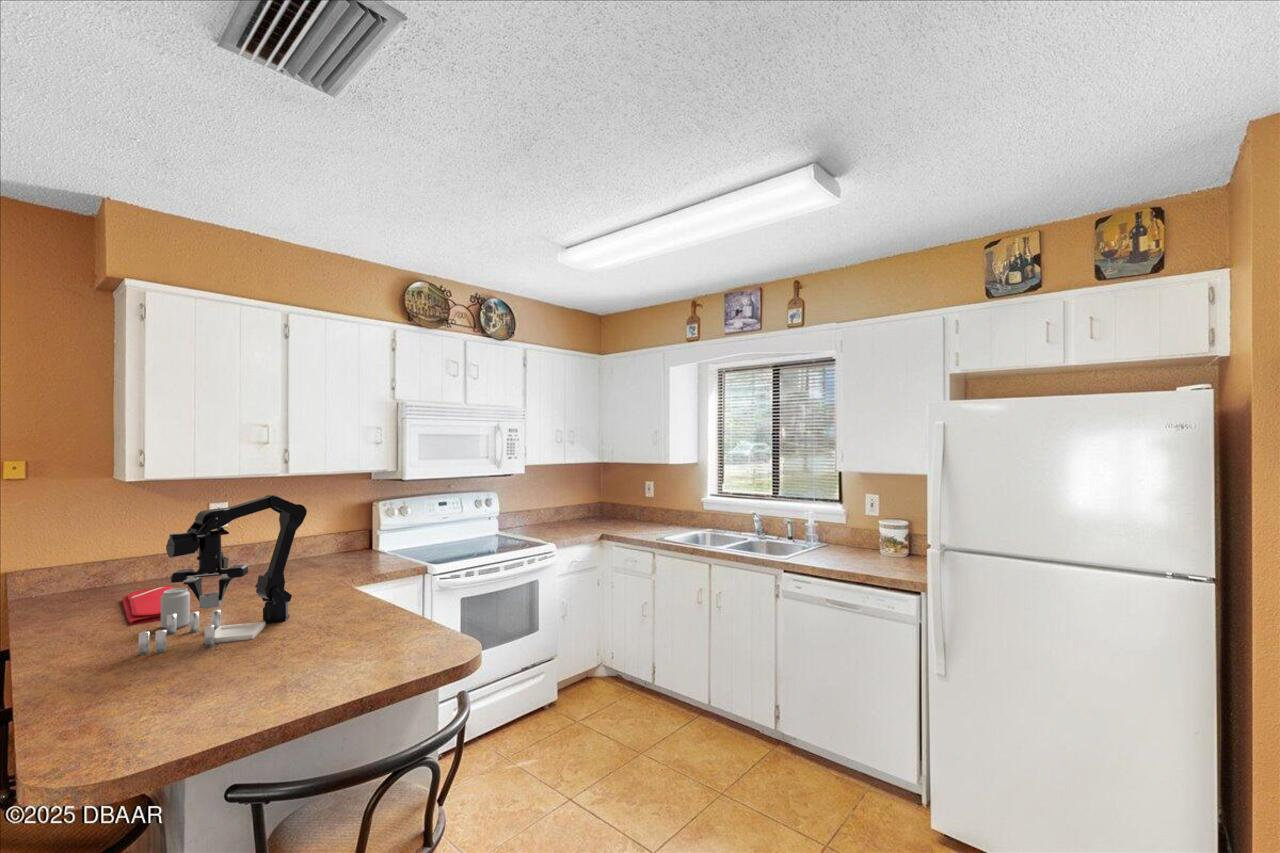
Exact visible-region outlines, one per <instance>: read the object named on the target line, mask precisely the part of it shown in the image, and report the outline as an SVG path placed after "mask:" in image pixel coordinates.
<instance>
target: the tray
mask: <svg viewBox="0 0 1280 853" xmlns="http://www.w3.org/2000/svg"><path fill="white" fill-rule="evenodd" d="M265 627H266V623H265V622H263V621H259V622H246V623H237V624H228V625H221V626H219V627H218V628H217V629H216V630H215V644H219V643H228V642H237V641H248V640H253V639H254V638H256V637H257V636H258V635H259V633H261V631H263V630H264V628H265ZM203 641H204V642H203V643H204V645H205V638H204V639H203Z"/></svg>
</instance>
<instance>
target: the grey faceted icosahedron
mask: <svg viewBox="0 0 1280 853" xmlns="http://www.w3.org/2000/svg"><path fill="white" fill-rule="evenodd" d="M198 604H199V609H203V610H204V609H205V610H207V609H208V610H209V609H213V608H218V607H220V606H222V605H223V599H222V600H221V601H220V599H219V591H218V592H216V591H215V592H209V593H204V594H203V593H202V596H200V597H199V601H198Z"/></svg>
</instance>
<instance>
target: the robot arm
mask: <svg viewBox="0 0 1280 853" xmlns="http://www.w3.org/2000/svg"><path fill="white" fill-rule="evenodd" d="M269 509H271V510H272V511H274V512H276V513H278V514H279V518H278V522H279V527H280V528H279V532H278V535H277V539H276V541H275V545H274V547H273V548H274V549H273V552H272V555H271V559H270V562H269V565H268V568H267V571H266V572H265V573H264V574H263V575H261V574H259V575H258V577H257V581H256V584H255V586H254V588H256V591H255V593H256V594H257V596H258V597H260V598H261V600H262V602H265V603H264V607H262V622H265V624H269V623H280V622H286V620H287V619H288V618H289V617H290V616H291V615H290V614H289V602H290V601H291V599H292V597H293V595H292V594H291V593H290V592H288V591H287V590H285V586H286V579H285V571H286V570H285V569H286V566H287V563H288V559H289V555H290V553H291V550H292V546H293V542H294V539H295V534H296V531H297V530H298V529H299V528H300V527H301V526H302V524H303V522H304V520H305V519H306V516H307V514H308V513H307V512H308V510H307V508H306V507H305V505H303V504H300V503H293V502H290V501H288V500H286V499H283V498H282V497H280V496H278V495H274V494H266V495H264V496H263V497H259V498H256V499H253V500H249V501H245V502H242V503H239V504H236V505H235V504H234V505H232V506H228V507H221V508H220V507H219V508H212V509H211V508H210V509H205V510H204V509H203V510H200V511H199V512H198V513H197V514H196V516H195V517H194V521H193V523H192V524H191V525H190V527H189V528H188V529H187V531H186V532H183V533H170V534H169V538H168V539H167V542H166V546H165V549H166V551H165V552H166V554H167V556H168V557H169V558H175V557H182V556H189V555H194V554H195V553H196V552H198V556H196V560H197V561H198V569H197V570H196V571H195V570H194V568H186V569H184V568H183V569H178V570H177V571H175V572H172V574H171V576H170V583H172V584H173V583H174V584H175V583H183V585H187V586H188V587H189V589H190V590H191V591H192V592H193V595H194V596H195V598H196V599H197V601H198V602H199V597H200V596H202V595H203V588H202V587H203V586H202V584H203V583H202V582H203V578H206V577H218V576H221V578H220V579H219V580H218V593H219V599H220V601H221V600H222V601H223V599H224V596H225V593H226V591H227V588H228V586H229V584H230V582H231V581H232V580H233V579H236V578H242V577H244V576H246V575H247V574H249V567H248V565H247V564H237V565H236V564H235V565H232V566H230V567H229V560H230V559H229V557H226V556H224V551H222V536H225V535H230V532H229V531H228V530H226V529H225V528H224V526H226V525H228V524H229V523H232V521H234V520H236V519H239V518H242V517H247V516H248V515H252V514H255V513H259V512H261V511H264V510H269Z"/></svg>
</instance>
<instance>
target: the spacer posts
mask: <svg viewBox="0 0 1280 853" xmlns="http://www.w3.org/2000/svg"><path fill="white" fill-rule="evenodd" d="M219 626H222V609H213V610H211V624H208V625H206V626H204V639H205V644H204V648H205V649H209V648H213V647H215V646H216V643H215V630H216V629H217V628H218V627H219ZM199 631H200V611H196V610H195V611H192V612H191V611H190V622H189V633H197V632H199ZM177 632H178V628H177V614H176V613H173V614H168V615H167V629H164V628H162V629H159V630H156V631H155V654H162V653H165V652H167V635H168V636H170V635H175V634H177ZM150 634H151V633H150V630H145V631H141V632H138V656H144V655H147V654H150V652H151V651H150V650H151V648H150V647H151V646H150V645H151V643H150V641H151V640H150Z"/></svg>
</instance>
